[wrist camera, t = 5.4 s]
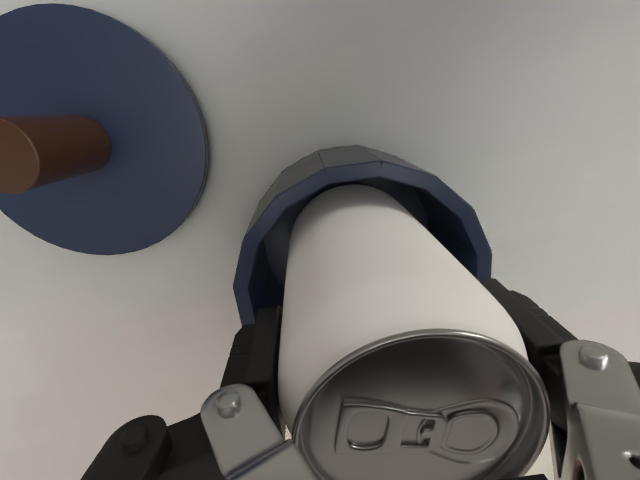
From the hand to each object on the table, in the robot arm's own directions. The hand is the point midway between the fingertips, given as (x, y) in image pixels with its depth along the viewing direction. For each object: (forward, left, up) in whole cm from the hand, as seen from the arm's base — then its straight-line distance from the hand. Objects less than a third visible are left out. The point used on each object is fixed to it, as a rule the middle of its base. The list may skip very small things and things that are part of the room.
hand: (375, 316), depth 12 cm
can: (0, 0, -7) cm, 7 cm away
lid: (-7, -12, -8) cm, 16 cm away
